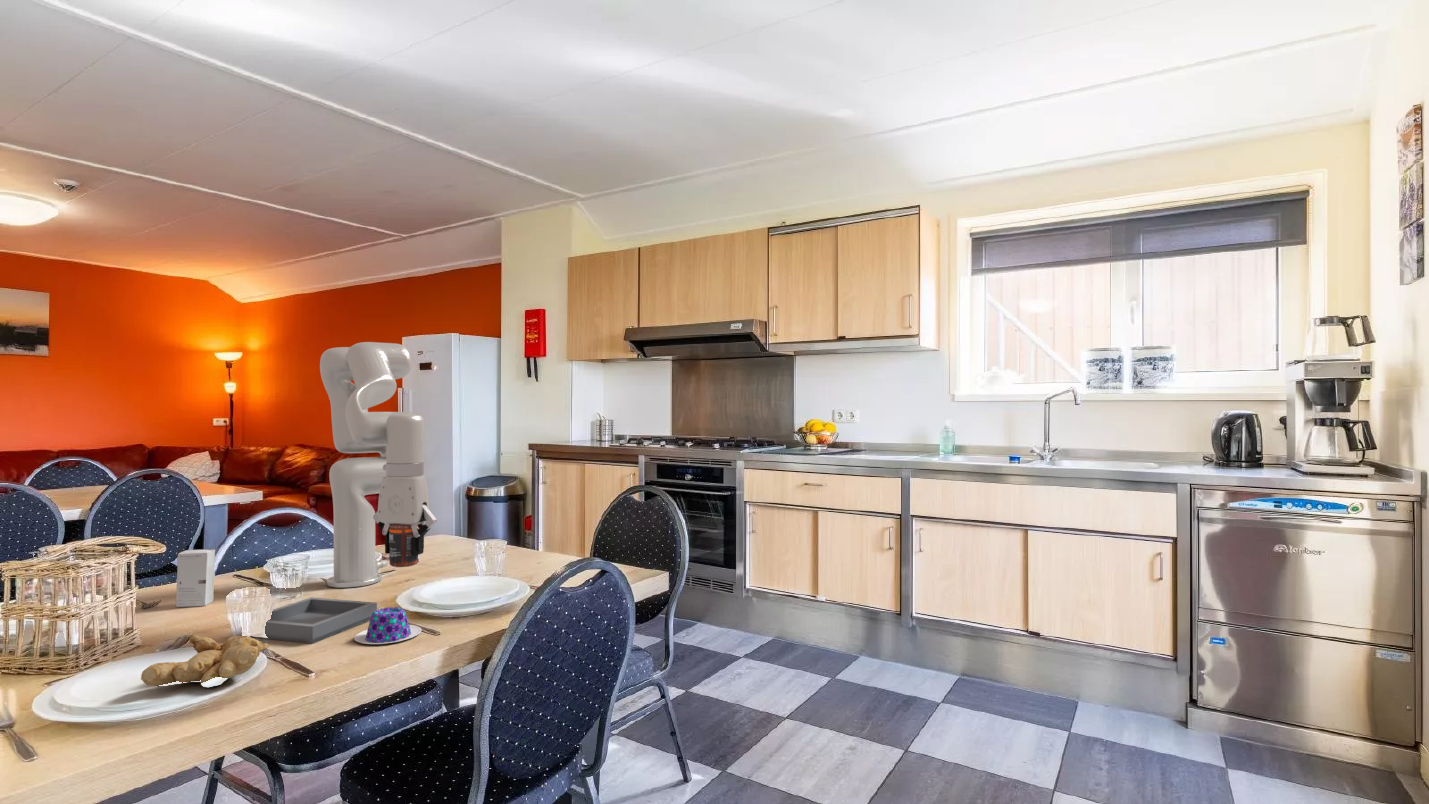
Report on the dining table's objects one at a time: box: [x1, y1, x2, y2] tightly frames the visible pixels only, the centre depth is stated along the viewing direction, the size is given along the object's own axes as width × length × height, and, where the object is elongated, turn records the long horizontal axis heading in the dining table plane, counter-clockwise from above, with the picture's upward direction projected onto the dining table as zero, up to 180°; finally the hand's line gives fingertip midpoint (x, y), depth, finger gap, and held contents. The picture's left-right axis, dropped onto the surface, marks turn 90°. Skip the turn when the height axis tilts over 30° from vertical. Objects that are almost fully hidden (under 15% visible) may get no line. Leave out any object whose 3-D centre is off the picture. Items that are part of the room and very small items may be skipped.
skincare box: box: [175, 549, 216, 608], centre depth 162 cm, size 6×4×12 cm
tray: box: [265, 596, 378, 644], centre depth 146 cm, size 17×17×3 cm
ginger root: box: [140, 634, 270, 687], centre depth 118 cm, size 16×16×8 cm
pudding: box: [353, 606, 422, 645], centre depth 140 cm, size 12×12×5 cm
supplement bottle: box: [388, 524, 420, 568], centre depth 156 cm, size 6×6×11 cm
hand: (404, 552), depth 156 cm, fingers closed on supplement bottle, 6 cm apart
